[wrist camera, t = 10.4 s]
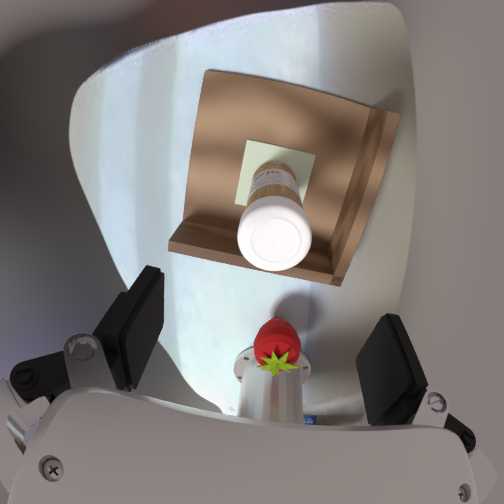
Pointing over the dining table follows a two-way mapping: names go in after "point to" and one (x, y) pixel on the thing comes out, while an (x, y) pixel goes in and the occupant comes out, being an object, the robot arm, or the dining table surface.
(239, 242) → the sprinkles bottle
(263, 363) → the strawberry
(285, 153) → the sage pad
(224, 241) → the tray
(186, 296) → the dining table surface
